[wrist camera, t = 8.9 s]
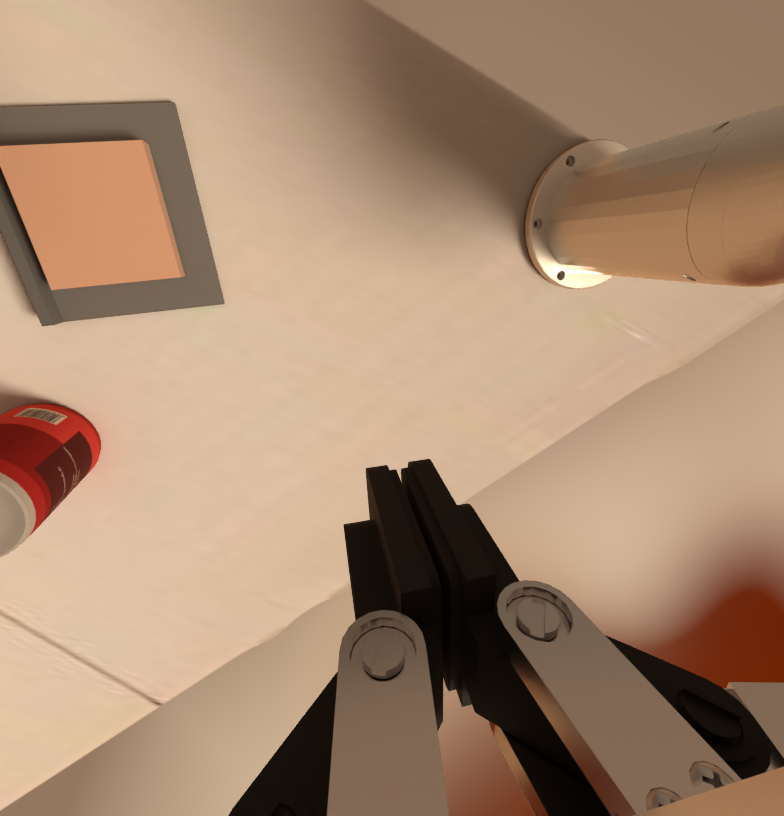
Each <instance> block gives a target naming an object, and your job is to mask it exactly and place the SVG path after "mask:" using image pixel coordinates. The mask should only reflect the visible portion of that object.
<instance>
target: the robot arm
mask: <svg viewBox="0 0 784 816" xmlns="http://www.w3.org/2000/svg"><path fill="white" fill-rule="evenodd" d="M534 222H535V226H534ZM525 235H526V244H527V248H528V252H529V255H530V258H531V260H532V262H533V264H534V266H535V267H536V269H537V270H538V271H539V273H540V274H541V275H542V276H543V277H544V278H546V279H547V280H548V281H549V282H551V283H553V284H555V285H557V286H561V287H565V288H571V289H584V288H591V287H593V286H596V285H599V284H601V283H603V282H605V281H607V280H609V279H610V278H612V277H613V276H624V277H635V278H647V279H658V280H670V281H681V282H692V283H704V284H715V285H729V286H741V287H762V286H771V285H777V284H781V283H784V103H782V104H780V105H776V106H773V107H769V108H766V109H763V110H760V111H757V112H753V113H750V114H746V115H743V116H740V117H737V118H733V119H730V120H726V121H723V122H720V123H716V124H713V125H710V126H706V127H703V128H699V129H696V130H693V131H690V132H686V133H683V134H679V135H676V136H673V137H669V138H666V139H663V140H659V141H656V142H653V143H649V144H646V145H643V146H639V147H636V148H633V149H629V148H627V147H626V146H625V145H623V144H621V143H618V142H615V141H612V140H603V139H598V140H593V141H587V142H585V143H582V144H579V145H576V146H574V147H572V148H571V149H569V150H567V151H565V152H564V153H562V154H561V155H560V156H559V157H558V158H556V159H555V160H554V161H553V162H552V163H551V164H550V165H549V167H548V168H547V169H546V170H545V171H544V173H543V174H542V176H541V177H540V179H539V181H538V182H537V184H536V186H535V188H534V191H533V193H532V196H531V198H530V201H529V205H528V209H527V213H526V223H525ZM366 479H367V491H368V503H369V514H370V520H367V521H362V522H356V523H350V524H344V532H345V541H346V549H347V557H348V565H349V573H350V581H351V589H352V596H353V604H354V611H355V619H356V621H355V622H354V623H353V624H352V625H351V626H350V627H349V628H348V630H347V631H346V633H345V635H344V636H343V638H342V642H341V647H340V652H339V664H338V672H337V673H336V674H335V676H334V677H333V678H332V680H331V681H330V682H329V683H328V685H327V686H326V687H325V689H324V690H323V691H322V693H321V694H320V695H319V697H318V698H317V699H316V701H315V702H314V703H313V704H312V706H311V707H310V708H309V710H308V711H307V712H306V714H305V715H304V716H303V717H302V719H301V720H300V721H299V723H298V724H297V725H296V727H295V728H294V730H293V731H292V732H291V733H290V734H289V736H288V737H287V738H286V740H285V741H284V742H283V744H282V745H281V746H280V747H279V749H278V750H277V752H276V753H275V754H274V755H273V757H272V758H271V759H270V761H269V762H268V764H267V765H266V766H265V767H264V768H263V770H262V771H261V773H260V774H259V775H258V776H257V778H256V779H255V780H254V781H253V783H252V784H251V785H250V787H249V788H248V789H247V791H246V792H245V793H244V795H243V796H242V797H241V798H240V800H239V801H238V802H237V804H236V805H235V806H234V808H233V809H232V811H231V813H230V814H229V816H449V812H448V804H447V797H446V790H445V783H444V776H443V768H442V760H441V753H440V746H439V738H438V730H439V728H440V725H441V723H442V721H443V678H444V681H445V684H446V687H447V689H448V690H449V691H451V690H455V689H456V690H457V693H458V696H459V699H460V702H461V705H462V707H463V706H467V705H471V704H472V705H473V708H474V710H475V712H476V713H477V714H479V715H480V716H482V717H484V718H485V719H487V720H488V721H489V724H490V727H491V730H492V732H493V735H494V737H495V739H496V741H497V743H498V745H499V747H500V749H501V751H502V753H503V755H504V756H505V758H506V760H507V762H508V764H509V766H510V768H511V770H512V772H513V774H514V775H515V777H516V779H517V781H518V783H519V785H520V787H521V789H522V791H523V793H524V795H525V796H526V798H527V800H528V802H529V804H530V806H531V808H532V810H533V812H534V814H535V816H784V683H752V682H751V683H750V682H729V683H728V686H727V688H726V689H724V688H722V687H720V686H718V685H716V684H714V683H712V682H711V681H709V680H707V679H705V678H703V677H700V676H698V675H696V674H693V673H691V672H689V671H687V670H684V669H682V668H680V667H677V666H675V665H672V664H670V663H668V662H666V661H664V660H661V659H659V658H657V657H654V656H652V655H650V654H647V653H645V652H643V651H640V650H638V649H636V648H633V647H631V646H629V645H626V644H624V643H622V642H620V641H617V640H615V639H612V638H610V637H608V636H606V635H604V634H603V633H602V632H601V631H600V630H599V629H598V628H597V627H596V625H595V624H594V623H593V622H592V621H591V620H590V619H589V618H588V617H587V616H586V615H585V614H584V613H583V612H582V611H581V610H580V609H579V608H578V606H576V604H575V603H574V602H573V601H572V600H571V599H570V598H569V597H567V596H566V595H565V594H564V593H562V592H561V591H560V590H558V589H556V588H554V587H552V586H551V585H548V584H545V583H541V582H538V581H527V580H524V581H519V580H518V578H517V577H516V575H515V573H514V572H513V570H512V569H511V567H510V566H509V564H508V562H507V561H506V559H505V558H504V556H503V554H502V553H501V552H500V550H499V548H498V547H497V545H496V543H495V542H494V540H493V539H492V537H491V536H490V534H489V532H488V531H487V529H486V528H485V526H484V525H483V523H482V522H481V520H480V518H479V517H478V515H477V513H476V512H475V510H474V509H473V508H472V506H471V505H470V504H462V505H456V503H455V501H454V500H453V498H452V496H451V494H450V493H449V491H448V489H447V487H446V486H445V484H444V482H443V481H442V479H441V477H440V475H439V474H438V472H437V470H436V468H435V467H434V465H433V463H432V462H431V460H430V459H426V460H419V461H412V462H409V463H408V468H402V469H401V480H402V483H401V481H400V478H399V476H398V473H397V471H396V470H389V468H388V466H387V465H385V466H378V467H371V468H366Z"/></svg>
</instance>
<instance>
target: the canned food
mask: <svg viewBox="0 0 784 816" xmlns="http://www.w3.org/2000/svg"><path fill="white" fill-rule="evenodd" d="M100 450H101V441H100V437H99V434H98V432H97V430H96V428H95V427H94V426H93V425H92V423H91V422H90V421H89V420H87V419H86V418H85V417H84V416H82V415H81V414H79V413H77V412H76V411H74V410H71V409H69V408H66V407H63V406H59V405H54V404H32V405H26V406H21V407H17V408H15V409H12V410H10V411H8V412H6V413H4V414H2V415H0V557H2V556H4V555H7V554H8V553H10V552H11V551H13V550H14V549H16V548H17V547H18V546H19V545H20V544H22V543H23V542H24V541H25V540H26V539H27V538H28V537H29V536H30V535H31V534H32V533H33V532H34V531H35V530H36V529H37V528H38V527H39V526H40V525H41V524H42V522H43V521H44V520H45V519H46V518H47V517H48V516H49V515H50V514H51V513H52V512H53V511H54V509H55V508H56V507H57V506H58V505H59V504H60V503H61V502H62V501H63V500H64V499H65V498H66V496H67V495H68V494H69V493H70V492H71V491H72V490H73V489H74V488H75V487H76V486H77V485H78V483H79V482H80V481H81V480H82V479H83V478H84V477H85V476H86V475H87V474H88V473H89V472H90V471H91V469H92V468H93V467H94V466H95V464H96V463H97V461H98V458H99V454H100Z"/></svg>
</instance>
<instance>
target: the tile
mask: <svg viewBox="0 0 784 816" xmlns="http://www.w3.org/2000/svg"><path fill="white" fill-rule="evenodd" d="M0 167H1V169H2V172H3V174H4V176H5V179H6V181H7V184H8V186H9V189H10V191H11V193H12V196H13V198H14V201H15V203H16V206H17V208H18V210H19V213H20V215H21V218H22V220H23V223H24V225H25V227H26V230H27V232H28V235H29V237H30V240H31V242H32V244H33V247H34V249H35V252H36V254H37V257H38V259H39V261H40V264H41V266H42V269H43V271H44V274H45V276H46V278H47V281H48V283H49V286H50V288H51V290H57V289H67V288H77V287H88V286H98V285H108V284H118V283H128V282H138V281H148V280H158V279H169V278H179V277H184V276H185V273H184V270H183V266H182V263H181V259H180V255H179V252H178V248H177V245H176V241H175V237H174V234H173V230H172V227H171V223H170V219H169V216H168V212H167V209H166V205H165V201H164V198H163V194H162V191H161V187H160V183H159V180H158V176H157V173H156V169H155V166H154V162H153V158H152V155H151V151H150V148H149V144H147V143H146V142H144V141H143V140H128V141H104V142H81V143H58V144H35V145H12V146H0Z"/></svg>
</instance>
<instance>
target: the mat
mask: <svg viewBox="0 0 784 816" xmlns="http://www.w3.org/2000/svg"><path fill="white" fill-rule="evenodd" d="M128 140H143V141H144V142H146V143H147V144H149V148H150V151H151V155H152V158H153V162H154V166H155V169H156V173H157V176H158V180H159V183H160V187H161V191H162V194H163V198H164V201H165V205H166V209H167V212H168V216H169V219H170V223H171V227H172V230H173V234H174V237H175V241H176V245H177V248H178V252H179V255H180V259H181V263H182V266H183V270H184V273H185V276H184V277H179V278H169V279H158V280H148V281H138V282H128V283H118V284H108V285H98V286H88V287H77V288H67V289H57V290H51V288H50V286H49V283H48V281H47V278H46V276H45V274H44V271H43V269H42V266H41V264H40V261H39V259H38V257H37V254H36V252H35V249H34V247H33V244H32V242H31V240H30V237H29V235H28V232H27V230H26V227H25V225H24V223H23V220H22V218H21V215H20V213H19V210H18V208H17V206H16V203H15V201H14V198H13V196H12V193H11V191H10V189H9V186H8V184H7V181H6V179H5V176H4V174H3V172H2V169H1V167H0V231H1V233H2V235H3V238H4V240H5V242H6V245H7V247H8V249H9V251H10V254H11V256H12V258H13V261H14V263H15V265H16V268H17V270H18V272H19V274H20V277H21V279H22V281H23V284H24V286H25V288H26V290H27V293H28V295H29V297H30V300H31V302H32V304H33V306H34V309H35V311H36V313H37V316H38V318H39V320H40V323H41V325H42V326H49V325H55V324H58V323H62V322H67V321H76V320H85V319H94V318H103V317H112V316H121V315H130V314H139V313H148V312H157V311H166V310H175V309H184V308H193V307H202V306H210V305H219V304H224V299H223V295H222V291H221V287H220V283H219V279H218V275H217V271H216V267H215V262H214V258H213V254H212V250H211V246H210V242H209V238H208V234H207V230H206V226H205V222H204V218H203V214H202V210H201V206H200V202H199V198H198V194H197V190H196V185H195V181H194V177H193V173H192V169H191V165H190V161H189V157H188V153H187V149H186V145H185V141H184V137H183V133H182V129H181V125H180V121H179V117H178V113H177V109H176V104H175V103H174V102H160V103H126V104H91V105H57V106H22V107H0V146H12V145H35V144H58V143H81V142H104V141H128Z"/></svg>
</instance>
